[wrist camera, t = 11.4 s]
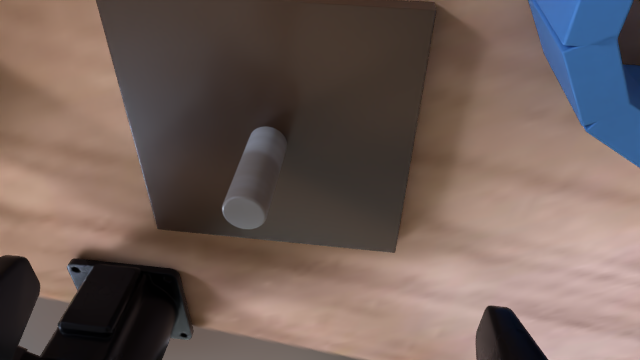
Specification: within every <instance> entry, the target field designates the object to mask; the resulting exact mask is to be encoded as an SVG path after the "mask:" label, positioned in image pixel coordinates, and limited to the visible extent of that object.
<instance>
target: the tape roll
mask: <svg viewBox="0 0 640 360" xmlns="http://www.w3.org/2000/svg"><path fill="white" fill-rule="evenodd" d="M528 1H529V5H530V8H531V11H532V15H533V18H534V22H535V25H536V28H537V32H538V35H539V38H540V42H541V45H542V48H543V52H544V55H545V56H546V58H547V60H548V62H549V64H550V66H551V68H552V70H553V72H554V74H555V76H556V77H557V79H558V81H559V83H560V85H561V87H562V89H563V91H564V93H565V95H566V97H567V99H568V100H569V102H570V104H571V106H572V108H573V110H574V112H575V114H576V116H577V118H578V120H579V121H580V123H581V125H582V126H583V127H584V129H585V131H586V132H587V133H589V134H590V135H592V136H593V137H595V138H596V139H598V140H599V141H601V142H602V143H604V144H605V145H607V146H608V147H610V148H611V149H613V150H614V151H616V152H617V153H618V154H620V155H621V156H623V157H624V158H626V159H627V160H629V161H630V162H632V163H633V164H635V165H636V166H638V167H639V168H640V66H638V65H623V63H622V59H621V54H620V49H619V44H618V37H619V34H620V32H621V29H622V27H623V25H624V22H625V20H626V17H627V15H628V13H629V10H630V8H631V6H632V3H633V1H634V0H528Z"/></svg>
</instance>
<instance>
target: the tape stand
mask: <svg viewBox="0 0 640 360" xmlns="http://www.w3.org/2000/svg"><path fill="white" fill-rule="evenodd" d="M96 2H97V6H98V9H99V13H100V17H101V20H102V24H103V28H104V32H105V35H106V39H107V43H108V47H109V50H110V54H111V58H112V61H113V65H114V69H115V73H116V76H117V80H118V84H119V87H120V91H121V95H122V99H123V102H124V106H125V110H126V113H127V117H128V121H129V125H130V128H131V132H132V136H133V139H134V143H135V147H136V151H137V154H138V158H139V162H140V165H141V169H142V173H143V177H144V180H145V184H146V188H147V191H148V195H149V199H150V203H151V206H152V210H153V214H154V217H155V221H156V225H157V229H161V230H171V231H181V232H192V233H202V234H212V235H222V236H232V237H242V238H252V239H262V240H272V241H282V242H292V243H302V244H312V245H322V246H332V247H342V248H352V249H362V250H372V251H382V252H392V253H395V250H396V245H397V239H398V233H399V227H400V221H401V215H402V209H403V203H404V198H405V192H406V186H407V180H408V174H409V168H410V162H411V156H412V151H413V145H414V139H415V133H416V127H417V121H418V115H419V109H420V104H421V98H422V92H423V86H424V80H425V74H426V68H427V62H428V57H429V51H430V45H431V39H432V33H433V27H434V21H435V15H436V7H435V3H434V2H421V1H404V0H96Z"/></svg>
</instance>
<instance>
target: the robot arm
mask: <svg viewBox="0 0 640 360" xmlns="http://www.w3.org/2000/svg"><path fill="white" fill-rule="evenodd" d="M67 269H68V271H69V273H70V275H71V277H72V280H73V282H74V284H75V286H76V288H77V290H78V291H77V293H76V295H75V296H74V298H73V299H72V301H71V303H70V304H69V306H68V308H67V309H66V311H65V313H64V314H63V316H62V317H61V319H60V321H59V323H58V327H57V329H56V331H55V332H54V334H53V336H52V338H51V339H50V341H49V342H48V344H47V346H46V347H45V349H44V351H43V352H42V354H41V355H40V356H38V355H35V354H33V353H30V352H28V351H27V349H26V348H23V347H21V346H18V344H19V342H20V339H21V337H22V334H23V332H24V330H25V327H26V325H27V322H28V320H29V318H30V315H31V313H32V310H33V308H34V306H35V303H36V301H37V298H38V296H39V292H40V283H39V280H38V278H37V276H36V274H35V272H34V271H33V269H32V267H31V265H30V263H29V261H28V260H27V259H26V258H25V257H20V256H11V255H5V256H2V257H0V360H162V358H163V356H164V353H165V351H166V348H167V346H168V343H169V340H170V338H176V339H184V340H187V339H190V338H191V337H192V334H193V327H192V323H191V319H190V315H189V311H188V307H187V303H186V299H185V295H184V291H183V287H182V283H181V279H180V275H179V273H178V272H177V271H176V270H174V269H170V268H161V267H151V266H142V265H132V264H123V263H114V262H104V261H95V260H85V259H72V260H71V261H70V263H69V264H68V266H67ZM476 358H477V360H548V359H547V357H546V356H545V355H544V353H543V352H542V350H541V349H540V348H539V346H538V345H537V344H536V342H535V341H534V340H533V338H532V337H531V335H530V334H529V333H528V331H527V330H526V329H525V327H524V326H523V325H522V323H521V322H520V320H519V319H518V318H517V316H516V315H515V314H514V312H513V311H512V310H511V309H509V308H507V307H500V306H488V307H487V308H486V309H485V311H484V314H483V316H482V319H481V321H480V324H479V327H478V329H477V333H476Z"/></svg>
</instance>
